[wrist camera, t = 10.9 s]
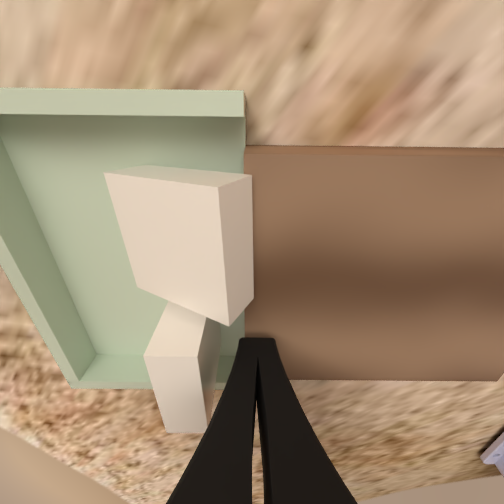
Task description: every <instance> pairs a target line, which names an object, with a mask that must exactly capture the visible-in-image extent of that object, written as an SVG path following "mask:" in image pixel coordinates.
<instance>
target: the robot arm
mask: <svg viewBox="0 0 504 504" xmlns="http://www.w3.org/2000/svg"><path fill="white" fill-rule="evenodd" d="M256 399H257V411H258V422H259V433H260V444H261V455H262V466H263V481H264V504H357V502H356V501H355V499H354V497H353V496H352V494H351V493H350V491H349V490H348V488H347V487H346V485H345V484H344V482H343V481H342V479H341V477H340V476H339V474H338V472H337V471H336V469H335V467H334V466H333V464H332V462H331V461H330V459H329V457H328V456H327V454H326V452H325V450H324V449H323V447H322V445H321V443H320V442H319V440H318V438H317V436H316V434H315V433H314V431H313V429H312V427H311V425H310V423H309V421H308V419H307V417H306V415H305V413H304V411H303V409H302V407H301V405H300V403H299V401H298V399H297V397H296V395H295V392H294V390H293V388H292V386H291V383H290V381H289V379H288V377H287V374H286V372H285V369H284V366H283V364H282V361H281V358H280V355H279V352H278V349H277V345H276V341H275V339H274V338H249V337H242V338H240V339H239V343H238V348H237V352H236V356H235V360H234V363H233V366H232V369H231V372H230V375H229V377H228V380H227V383H226V386H225V388H224V391H223V393H222V396H221V398H220V400H219V403H218V405H217V407H216V409H215V412H214V414H213V416H212V419H211V421H210V423H209V425H208V427H207V429H206V431H205V433H204V435H203V437H202V439H201V441H200V443H199V445H198V447H197V449H196V451H195V453H194V455H193V457H192V459H191V460H190V462H189V464H188V466H187V468H186V469H185V471H184V473H183V475H182V477H181V479H180V480H179V482H178V484H177V486H176V487H175V489H174V491H173V493H172V494H171V496H170V498H169V499H168V501H167V503H166V504H252V454H253V440H254V426H255V412H256ZM480 459H481V460H482V462H483V463H485V464H495V465H496V467H497V468H498V470H499V471H500V473H501V474H502V475H503V477H504V432H503V433H502V434H501V435H500V436H499V437H498V438H497V439H496V440H495V441H494V442H493V443H492V444H491V445H490V446H489V447H488V448H487V449H486V450H485V451H484V452H483V453H482V455H481V456H480Z"/></svg>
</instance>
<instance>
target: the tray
mask: <svg viewBox="0 0 504 504" xmlns="http://www.w3.org/2000/svg"><path fill="white" fill-rule="evenodd" d="M245 146H246V96H245V93H244V90H161V89H78V88H0V265H1V267H2V269H3V270H4V272H5V274H6V276H7V277H8V279H9V281H10V283H11V284H12V286H13V288H14V290H15V291H16V293H17V295H18V297H19V298H20V300H21V302H22V303H23V305H24V307H25V309H26V310H27V312H28V314H29V316H30V317H31V319H32V321H33V323H34V324H35V326H36V328H37V330H38V331H39V333H40V335H41V337H42V338H43V340H44V342H45V344H46V345H47V347H48V349H49V350H50V352H51V354H52V356H53V357H54V359H55V361H56V363H57V364H58V366H59V368H60V370H61V371H62V373H63V375H64V377H65V378H66V380H67V382H68V384H69V385H70V387H71V388H72V389H153V387H152V383H151V380H150V377H149V374H148V370H147V367H146V364H145V361H144V357H143V355H144V353H145V351H146V349H147V347H148V345H149V342H150V340H151V338H152V336H153V334H154V331H155V329H156V327H157V325H158V323H159V320H160V318H161V316H162V314H163V312H164V310H165V307H166V305H167V303H168V300H166V299H164V298H161V297H159V296H157V295H154V294H152V293H150V292H147V291H145V290H143V289H140V288H138V287H137V285H136V281H135V278H134V275H133V271H132V268H131V264H130V261H129V258H128V254H127V251H126V247H125V244H124V241H123V237H122V234H121V230H120V227H119V224H118V220H117V217H116V213H115V210H114V207H113V203H112V200H111V197H110V193H109V190H108V186H107V183H106V180H105V176H104V173H103V172H108V171H114V170H119V169H125V168H130V167H136V166H141V165H154V166H165V167H175V168H186V169H196V170H206V171H217V172H227V173H238V174H244V150H245ZM220 329H221V347H220V355H219V362H218V369H217V376H216V383H215V390H224V388H225V386H226V383H227V380H228V377H229V375H230V372H231V369H232V366H233V363H234V360H235V356H236V352H237V348H238V343H239V339H240V338H242V337H245V313H244V310H243V311H242V313H241V314H240V315H239V316H238V317H237V318H236V320H235V321H234V322H233V323H232V324H231V325H230V326H226V325H224V324H222V323H220Z"/></svg>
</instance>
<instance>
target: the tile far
mask: <svg viewBox="0 0 504 504" xmlns="http://www.w3.org/2000/svg"><path fill="white" fill-rule="evenodd" d="M220 347H221V329H220V323H219V322H217V321H215V320H212V319H210V318H208V317H205V316H203V315H201V314H198V313H196V312H194V311H192V310H189V309H187V308H185V307H182V306H180V305H178V304H175V303H173V302H171V301H168V303H167V305H166V307H165V310H164V312H163V314H162V316H161V318H160V320H159V323H158V325H157V327H156V329H155V331H154V334H153V336H152V338H151V340H150V342H149V345H148V347H147V349H146V351H145V353H144V355H143V357H144V361H145V364H146V367H147V370H148V374H149V377H150V380H151V383H152V387H153V390H154V393H155V396H156V400H157V403H158V406H159V409H160V413H161V416H162V419H163V422H164V426H165V429H166V432H167V433H205V431H206V429H207V427H208V425H209V423H210V419H211V412H212V405H213V398H214V390H215V383H216V376H217V369H218V362H219V355H220Z"/></svg>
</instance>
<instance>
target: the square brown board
mask: <svg viewBox="0 0 504 504" xmlns="http://www.w3.org/2000/svg"><path fill="white" fill-rule="evenodd" d="M244 174H248V175H252V213H253V278H254V299H253V300H252V301H251V302H250V303H249V304H248V306H247V307H246V308H245V309H244V313H245V337H249V338H274V339H275V341H276V345H277V349H278V352H279V355H280V358H281V361H282V364H283V366H284V369H285V372H286V374H287V377H288V379H289V380H397V381H498V379H499V378H500V377H501V376H502V374H503V373H504V148H455V147H367V146H279V145H246V146H245V150H244Z"/></svg>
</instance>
